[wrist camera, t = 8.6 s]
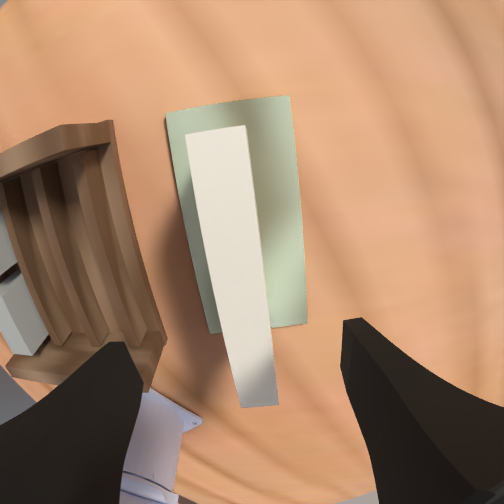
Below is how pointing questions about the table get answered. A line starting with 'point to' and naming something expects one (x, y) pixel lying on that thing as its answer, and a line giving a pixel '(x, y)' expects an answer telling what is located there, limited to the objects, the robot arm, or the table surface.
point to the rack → (124, 238)
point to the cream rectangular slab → (235, 257)
